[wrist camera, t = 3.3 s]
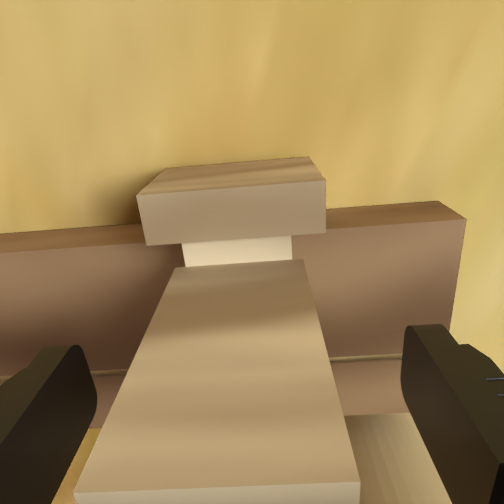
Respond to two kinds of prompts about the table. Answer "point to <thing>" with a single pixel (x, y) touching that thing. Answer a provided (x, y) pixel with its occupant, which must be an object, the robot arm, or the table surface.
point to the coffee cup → (393, 461)
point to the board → (171, 256)
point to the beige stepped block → (229, 353)
